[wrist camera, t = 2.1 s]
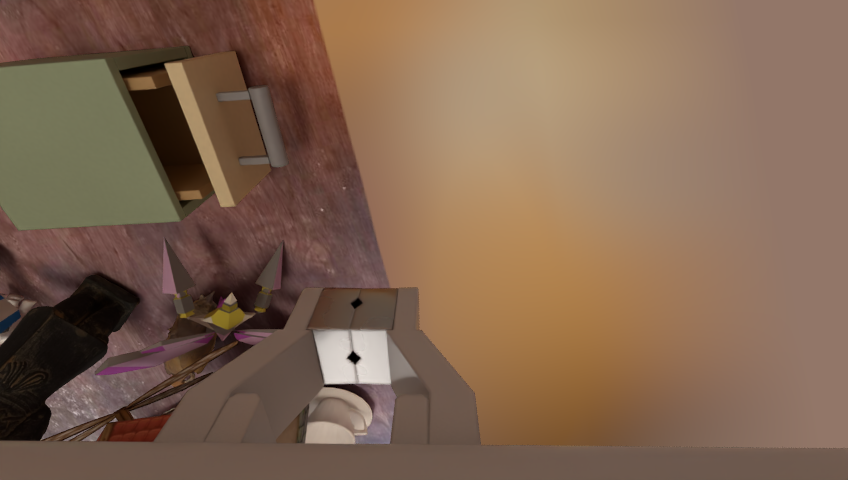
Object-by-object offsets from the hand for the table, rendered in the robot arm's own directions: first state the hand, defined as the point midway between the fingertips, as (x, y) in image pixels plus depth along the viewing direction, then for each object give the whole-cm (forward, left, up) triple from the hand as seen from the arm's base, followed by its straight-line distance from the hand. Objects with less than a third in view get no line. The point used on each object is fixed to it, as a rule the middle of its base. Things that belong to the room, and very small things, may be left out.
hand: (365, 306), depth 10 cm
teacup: (+16, +43, -27) cm, 53 cm away
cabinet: (+25, 0, -27) cm, 37 cm away
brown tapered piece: (+31, +27, -27) cm, 49 cm away
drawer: (+18, 0, -26) cm, 32 cm away
